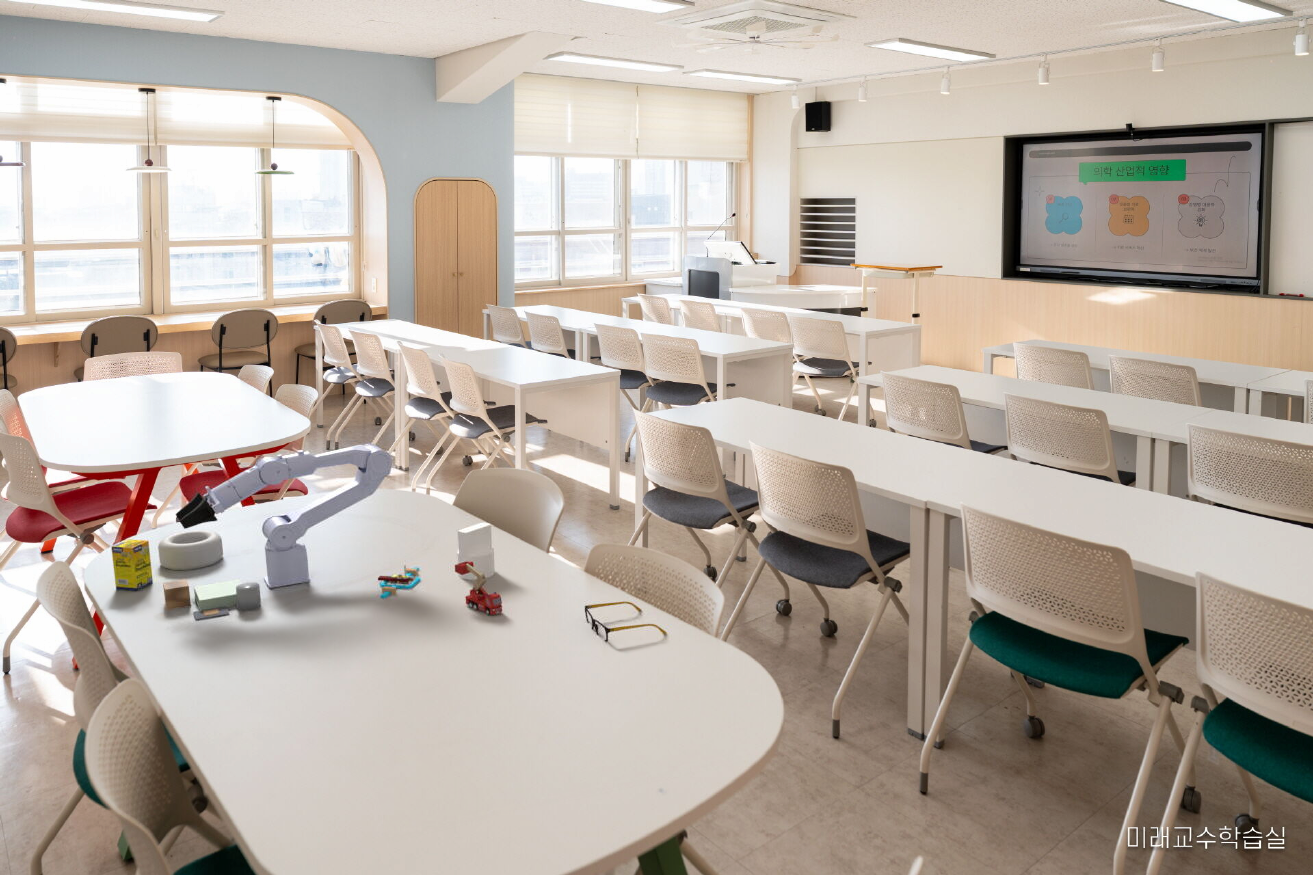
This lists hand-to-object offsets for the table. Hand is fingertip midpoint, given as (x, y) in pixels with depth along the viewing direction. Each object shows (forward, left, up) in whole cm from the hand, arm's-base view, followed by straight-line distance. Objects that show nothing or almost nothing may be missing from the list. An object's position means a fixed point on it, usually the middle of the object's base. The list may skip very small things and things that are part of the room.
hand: (179, 521), depth 238 cm
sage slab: (-7, +5, -19) cm, 21 cm away
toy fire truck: (-58, +39, -19) cm, 72 cm away
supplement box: (+10, -15, -19) cm, 26 cm away
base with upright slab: (-65, +17, -19) cm, 70 cm away
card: (-4, +13, -19) cm, 23 cm away
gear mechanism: (-46, +14, -20) cm, 52 cm away
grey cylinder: (-12, +13, -19) cm, 26 cm away
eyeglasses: (-81, +65, -19) cm, 106 cm away
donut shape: (-4, -28, -19) cm, 34 cm away
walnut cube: (+2, +3, -19) cm, 19 cm away
